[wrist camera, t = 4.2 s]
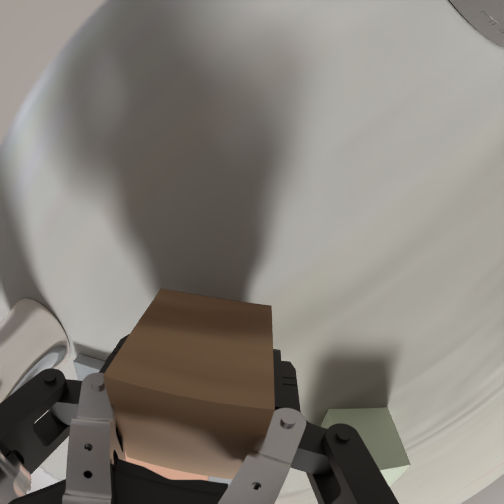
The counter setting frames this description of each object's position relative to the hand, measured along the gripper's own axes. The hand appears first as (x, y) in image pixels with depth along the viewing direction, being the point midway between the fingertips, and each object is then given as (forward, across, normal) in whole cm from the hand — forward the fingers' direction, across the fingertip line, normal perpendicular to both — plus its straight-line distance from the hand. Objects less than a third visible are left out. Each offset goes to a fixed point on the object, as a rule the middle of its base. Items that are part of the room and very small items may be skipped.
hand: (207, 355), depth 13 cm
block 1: (+1, 0, 0) cm, 1 cm away
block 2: (+4, -11, +10) cm, 15 cm away
